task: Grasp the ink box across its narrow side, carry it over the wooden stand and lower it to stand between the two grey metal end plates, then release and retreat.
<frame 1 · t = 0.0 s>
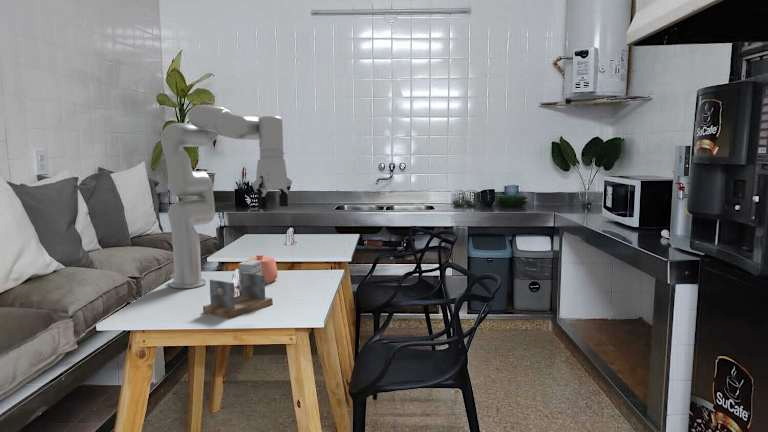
hand: (273, 207, 187), 31 cm above the table, fingers open, 9 cm apart
ink box: (251, 295, 199), on the table
teapot: (259, 283, 219), on the table
wooden stand: (238, 308, 182), on the table
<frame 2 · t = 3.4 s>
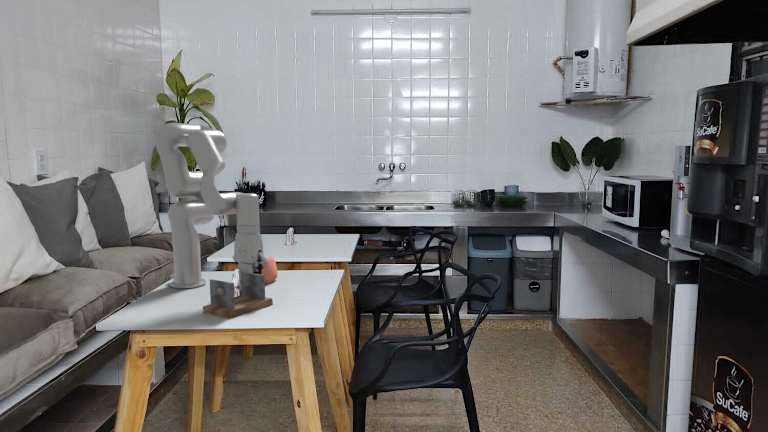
hand: (250, 280, 198), 5 cm above the table, fingers closed on ink box, 6 cm apart
ink box: (251, 295, 199), on the table, touching gripper
everything else where it was.
when the fingers open (8 cm above the table, at t = 9.8 s): ink box drops 1 cm, resting on wooden stand.
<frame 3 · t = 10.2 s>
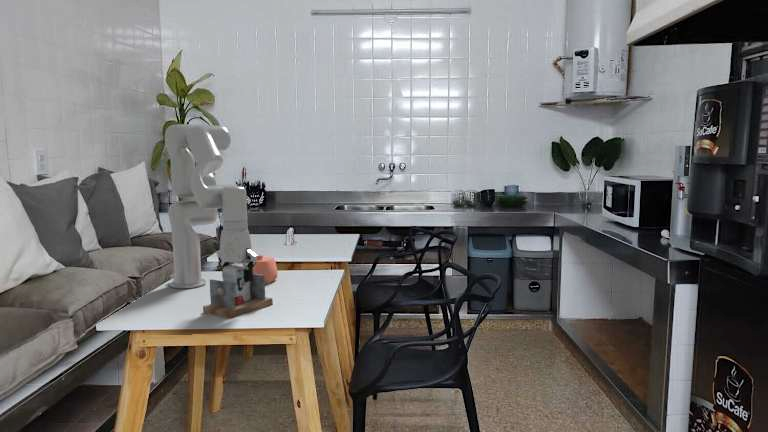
hand: (237, 279, 181), 9 cm above the table, fingers open, 9 cm apart
ink box: (237, 302, 182), point 2 cm above the table, touching wooden stand
everything else where it was.
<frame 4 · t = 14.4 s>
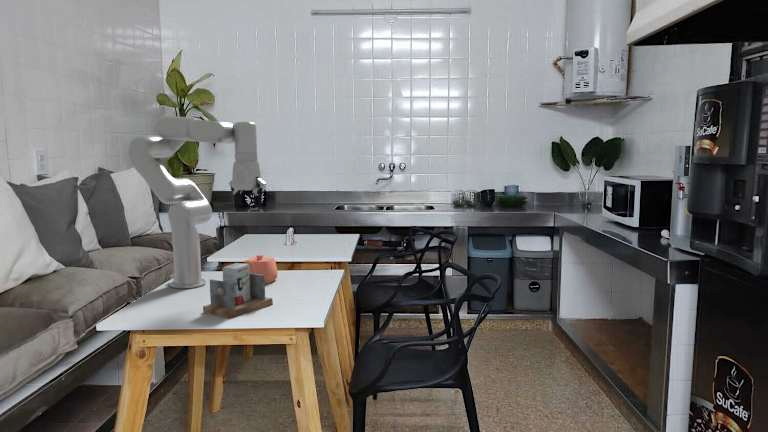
hand: (248, 206, 202), 30 cm above the table, fingers open, 9 cm apart
nothing on the table moved.
at the end: ink box inside the target area on the wooden stand (0.5 cm from its centre), point 1.8 cm above the wooden stand's base; ink box tilted 0°; the gripper is holding nothing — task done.
